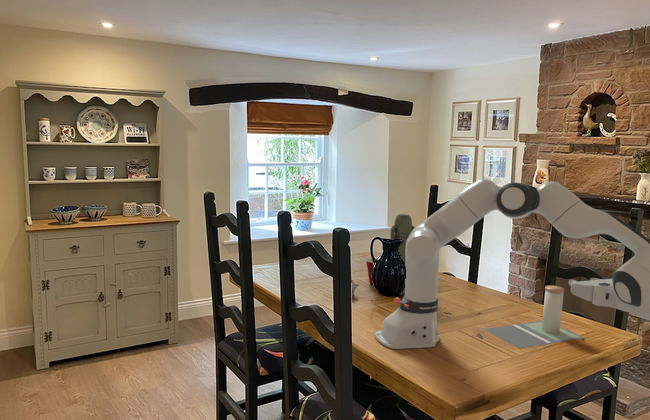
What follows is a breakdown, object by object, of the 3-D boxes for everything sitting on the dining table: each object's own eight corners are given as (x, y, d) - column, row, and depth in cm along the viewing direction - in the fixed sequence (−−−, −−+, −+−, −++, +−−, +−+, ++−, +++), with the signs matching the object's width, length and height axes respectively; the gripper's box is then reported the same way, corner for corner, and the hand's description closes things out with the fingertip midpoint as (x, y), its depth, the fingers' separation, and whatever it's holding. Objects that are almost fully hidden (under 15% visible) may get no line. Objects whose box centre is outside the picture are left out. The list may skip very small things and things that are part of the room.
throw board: (518, 351, 170) (519, 348, 170) (483, 331, 186) (483, 328, 186) (584, 340, 180) (584, 337, 180) (545, 322, 197) (545, 320, 197)
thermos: (416, 292, 231) (420, 215, 226) (396, 296, 224) (400, 217, 219) (403, 287, 238) (407, 212, 233) (383, 291, 232) (386, 214, 227)
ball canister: (550, 334, 182) (554, 291, 180) (537, 328, 188) (541, 286, 185) (563, 332, 184) (568, 289, 182) (550, 326, 190) (554, 284, 188)
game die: (350, 304, 223) (359, 291, 217) (332, 297, 223) (340, 283, 217) (354, 289, 230) (362, 276, 224) (336, 282, 230) (344, 268, 223)
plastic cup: (387, 281, 247) (388, 257, 245) (387, 288, 236) (388, 262, 235) (364, 280, 248) (365, 256, 246) (363, 286, 237) (364, 261, 236)
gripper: (643, 281, 161) (604, 270, 174) (595, 286, 154) (558, 273, 166) (640, 301, 162) (602, 288, 175) (592, 306, 154) (556, 292, 167)
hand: (580, 280), depth 170 cm, fingers open, 8 cm apart
